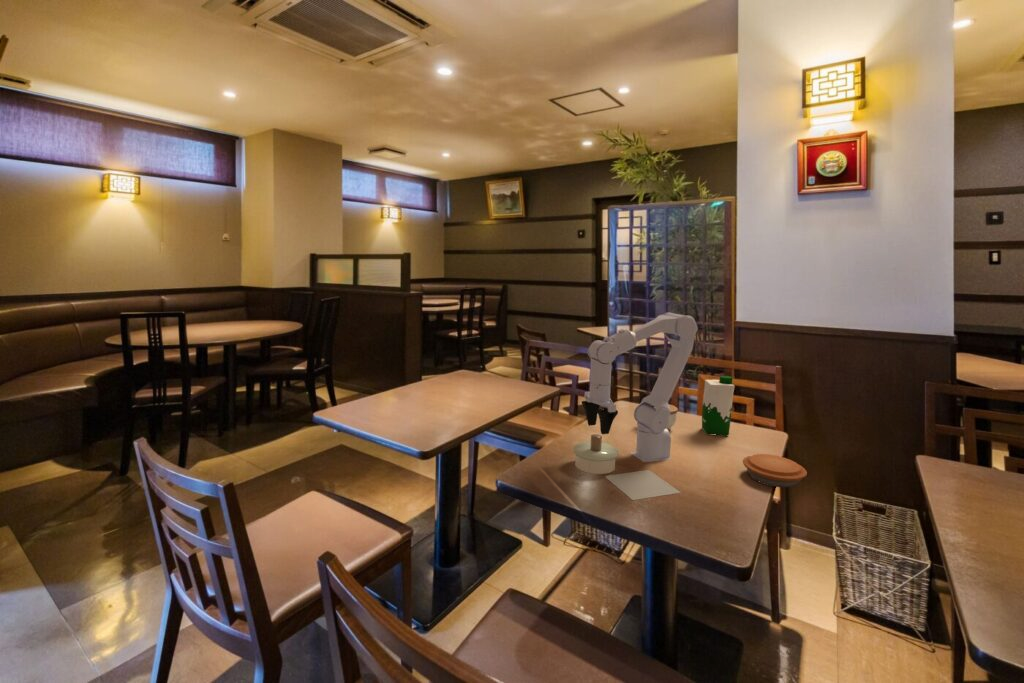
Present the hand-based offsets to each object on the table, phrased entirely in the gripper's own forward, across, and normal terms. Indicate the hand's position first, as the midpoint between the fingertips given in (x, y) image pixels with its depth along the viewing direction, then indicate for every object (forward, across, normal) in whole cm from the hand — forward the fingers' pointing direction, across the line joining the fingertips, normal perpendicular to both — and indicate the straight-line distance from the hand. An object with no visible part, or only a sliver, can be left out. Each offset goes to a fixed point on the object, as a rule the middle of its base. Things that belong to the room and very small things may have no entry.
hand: (598, 429), depth 138 cm
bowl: (+10, +2, -2) cm, 11 cm away
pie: (+11, +23, +42) cm, 49 cm away
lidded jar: (+11, -21, +37) cm, 44 cm away
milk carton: (+11, -12, +53) cm, 56 cm away
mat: (+10, +16, +4) cm, 20 cm away
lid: (+6, +2, -2) cm, 7 cm away
